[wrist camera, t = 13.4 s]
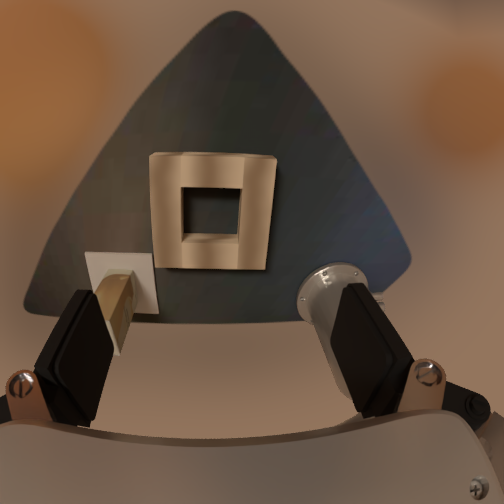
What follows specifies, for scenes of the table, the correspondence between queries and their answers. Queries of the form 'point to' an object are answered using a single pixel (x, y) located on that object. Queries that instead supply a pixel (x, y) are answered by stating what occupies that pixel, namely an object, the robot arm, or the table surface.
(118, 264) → the mat
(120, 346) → the skincare box
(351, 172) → the table surface
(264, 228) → the holder
